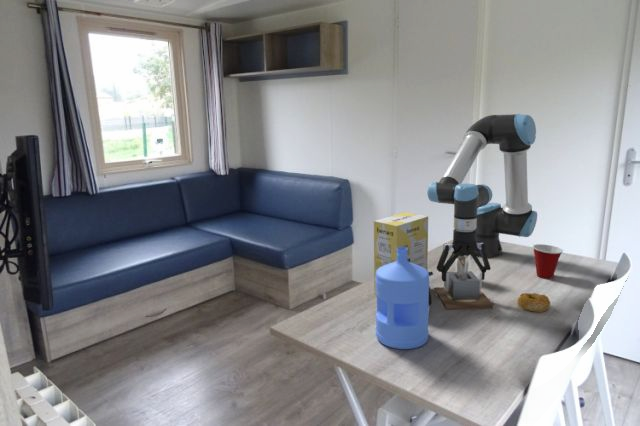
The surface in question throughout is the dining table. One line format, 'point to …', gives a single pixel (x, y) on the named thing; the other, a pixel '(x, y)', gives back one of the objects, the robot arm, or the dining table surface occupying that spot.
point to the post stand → (462, 304)
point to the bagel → (533, 302)
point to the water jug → (402, 303)
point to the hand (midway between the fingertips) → (462, 289)
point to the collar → (463, 287)
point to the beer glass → (463, 263)
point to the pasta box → (400, 239)
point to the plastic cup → (546, 260)
